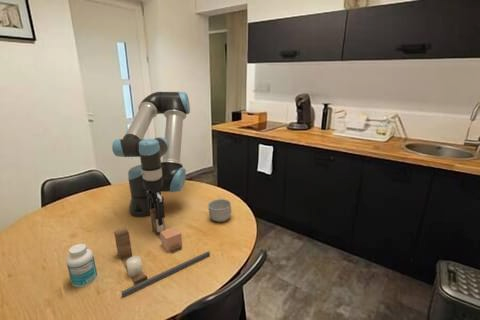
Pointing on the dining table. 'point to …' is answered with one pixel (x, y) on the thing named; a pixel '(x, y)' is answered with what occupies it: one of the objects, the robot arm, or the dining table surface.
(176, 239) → the cube
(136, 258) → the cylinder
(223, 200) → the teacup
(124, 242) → the brown l-shaped bracket
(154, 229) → the brown l-shaped block
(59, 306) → the dining table surface
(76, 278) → the pill bottle
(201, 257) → the bar
